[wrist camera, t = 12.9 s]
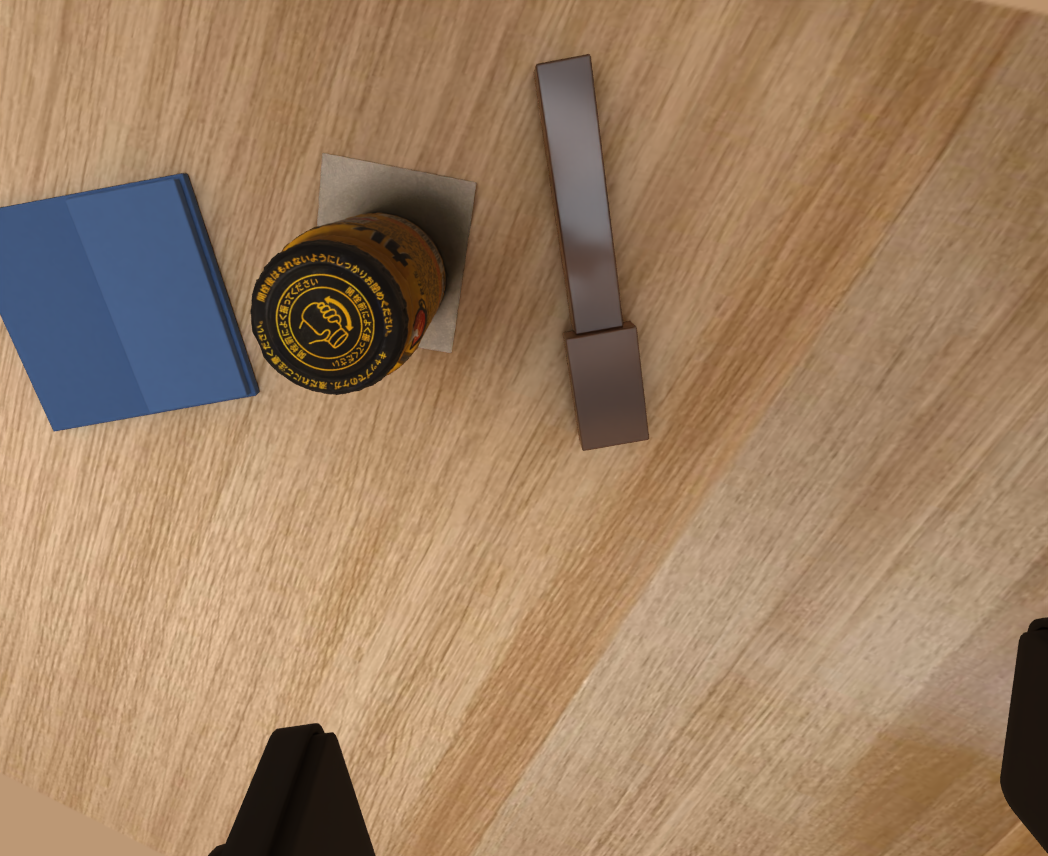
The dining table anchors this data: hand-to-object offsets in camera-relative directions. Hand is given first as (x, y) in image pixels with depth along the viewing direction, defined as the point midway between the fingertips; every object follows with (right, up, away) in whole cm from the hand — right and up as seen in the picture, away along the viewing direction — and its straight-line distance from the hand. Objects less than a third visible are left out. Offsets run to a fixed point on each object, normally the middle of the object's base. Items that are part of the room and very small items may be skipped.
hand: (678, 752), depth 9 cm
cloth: (-22, +11, +24) cm, 35 cm away
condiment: (-9, +13, +24) cm, 29 cm away
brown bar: (+1, +13, +24) cm, 27 cm away
